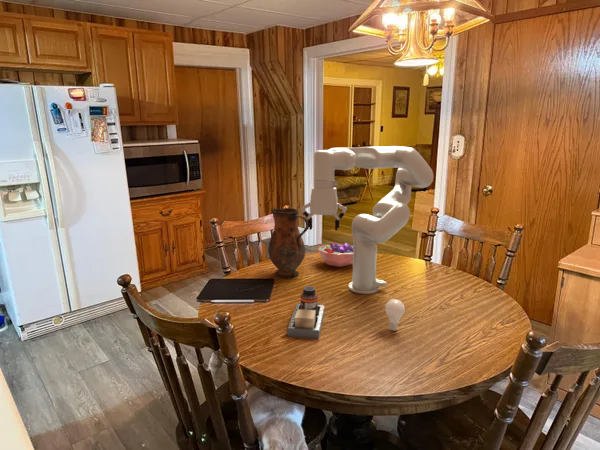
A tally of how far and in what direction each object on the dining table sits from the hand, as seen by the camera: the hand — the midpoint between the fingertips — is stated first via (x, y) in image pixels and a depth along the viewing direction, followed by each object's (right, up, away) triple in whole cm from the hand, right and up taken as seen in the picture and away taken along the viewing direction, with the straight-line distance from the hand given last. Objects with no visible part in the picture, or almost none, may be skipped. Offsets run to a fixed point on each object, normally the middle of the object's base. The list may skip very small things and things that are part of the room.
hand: (323, 229), depth 154 cm
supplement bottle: (-6, -31, -11) cm, 34 cm away
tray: (-7, -33, -15) cm, 37 cm away
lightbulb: (+22, -34, -18) cm, 44 cm away
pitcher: (-13, -21, +31) cm, 40 cm away
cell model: (+10, -18, +44) cm, 49 cm away
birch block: (-7, -33, -20) cm, 39 cm away
